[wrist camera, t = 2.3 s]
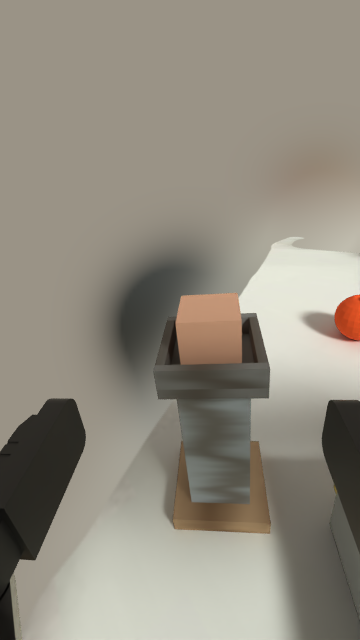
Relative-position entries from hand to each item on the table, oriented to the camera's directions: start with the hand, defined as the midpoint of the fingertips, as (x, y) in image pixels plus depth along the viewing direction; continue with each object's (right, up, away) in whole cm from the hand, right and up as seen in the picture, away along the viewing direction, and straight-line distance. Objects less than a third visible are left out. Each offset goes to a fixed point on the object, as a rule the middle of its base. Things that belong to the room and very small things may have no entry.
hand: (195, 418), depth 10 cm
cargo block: (+2, 0, +12) cm, 13 cm away
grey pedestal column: (+3, -13, +20) cm, 24 cm away
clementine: (+28, 0, +39) cm, 47 cm away
